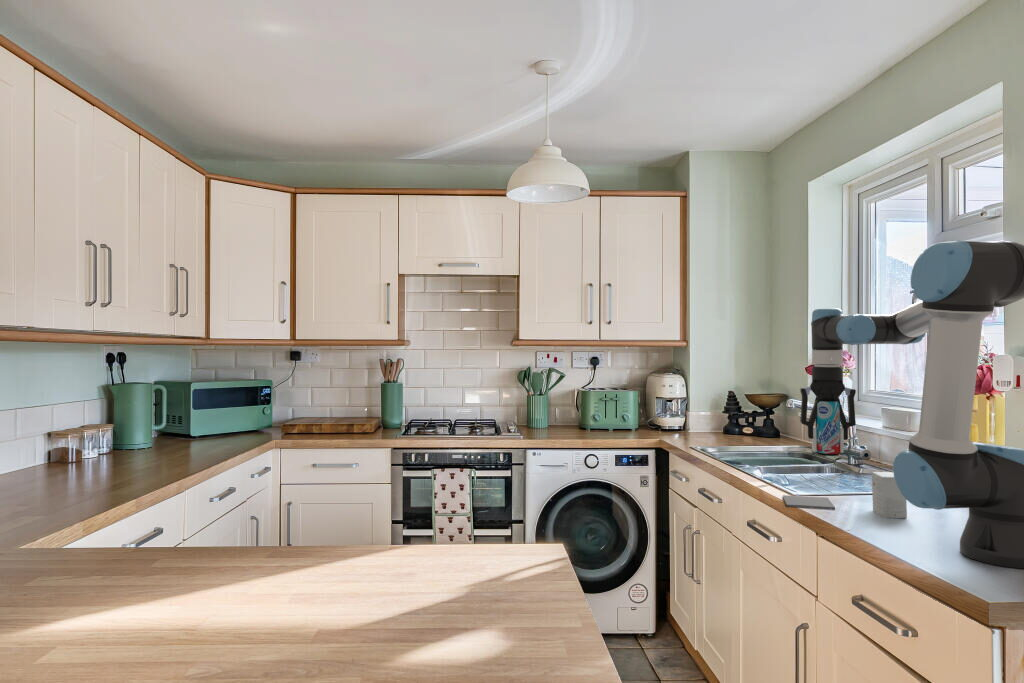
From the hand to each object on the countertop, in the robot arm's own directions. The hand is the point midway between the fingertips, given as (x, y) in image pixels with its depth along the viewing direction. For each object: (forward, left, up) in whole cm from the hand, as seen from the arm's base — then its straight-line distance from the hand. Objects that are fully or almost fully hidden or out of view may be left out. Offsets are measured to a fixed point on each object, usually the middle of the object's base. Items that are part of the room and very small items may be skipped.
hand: (827, 451), depth 173 cm
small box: (-1, -14, -16) cm, 22 cm away
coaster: (+7, +4, -16) cm, 18 cm away
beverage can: (0, 0, -1) cm, 1 cm away
